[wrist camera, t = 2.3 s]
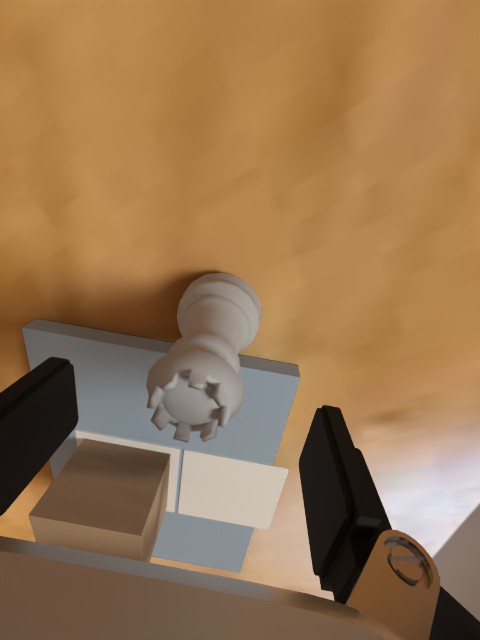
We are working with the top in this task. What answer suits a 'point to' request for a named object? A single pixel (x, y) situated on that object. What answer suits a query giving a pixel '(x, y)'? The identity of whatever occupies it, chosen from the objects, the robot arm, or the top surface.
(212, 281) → the rook chess piece
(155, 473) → the walnut block
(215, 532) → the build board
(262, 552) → the top surface
